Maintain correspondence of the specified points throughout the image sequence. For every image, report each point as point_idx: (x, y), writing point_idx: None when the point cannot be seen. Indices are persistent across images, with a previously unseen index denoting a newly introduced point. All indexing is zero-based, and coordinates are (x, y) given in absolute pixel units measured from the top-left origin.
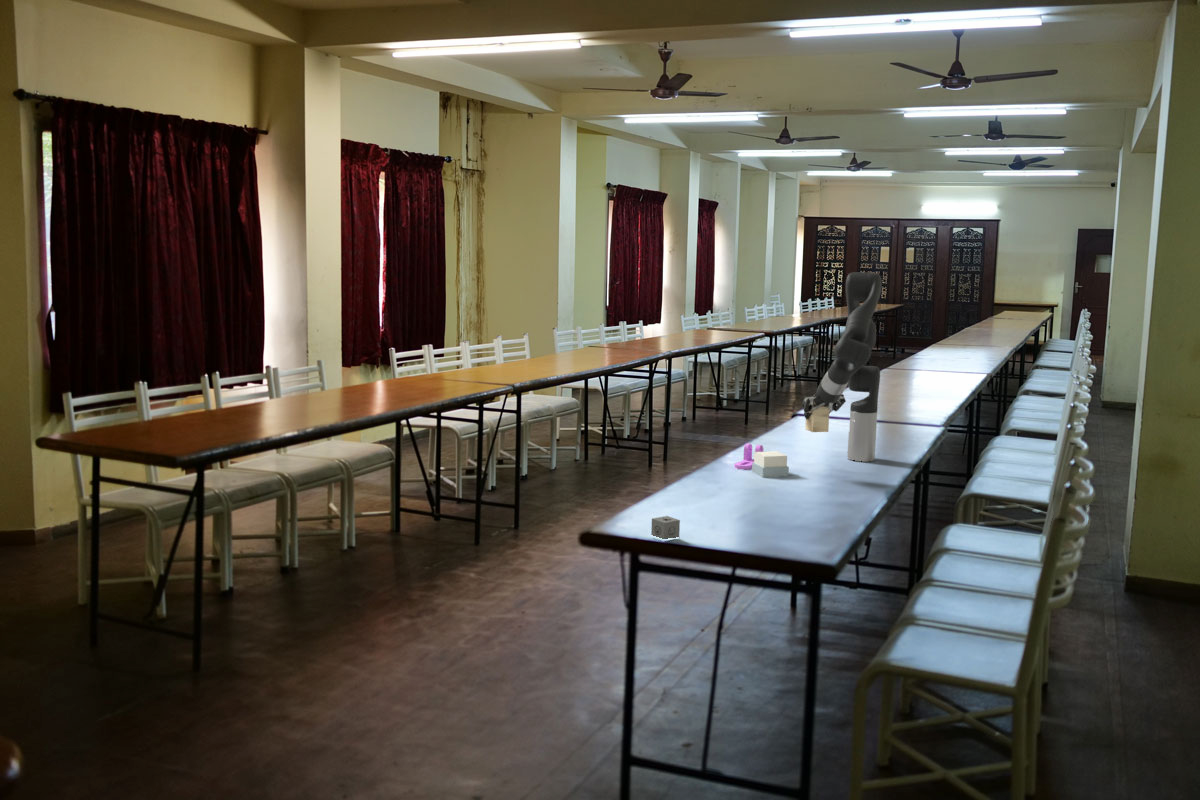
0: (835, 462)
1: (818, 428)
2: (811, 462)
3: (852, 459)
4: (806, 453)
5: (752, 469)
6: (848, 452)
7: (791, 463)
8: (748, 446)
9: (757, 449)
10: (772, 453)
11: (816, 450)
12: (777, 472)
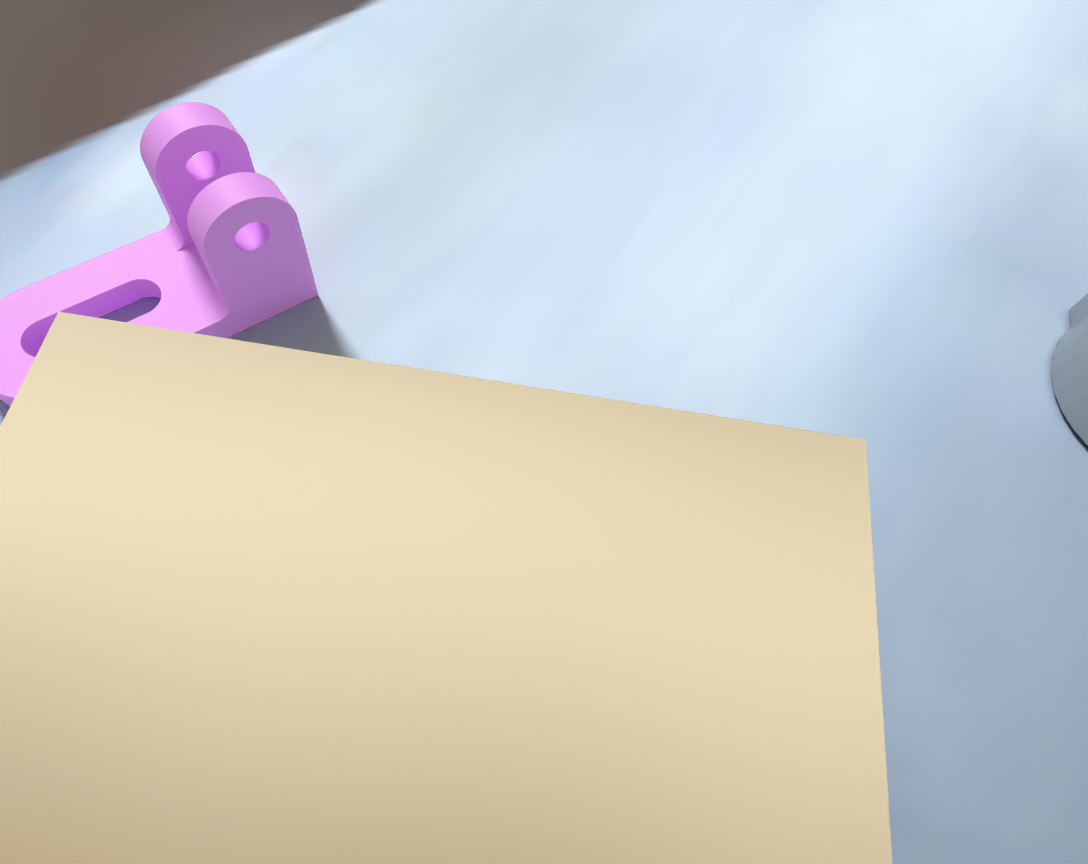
0: (907, 420)
1: None
2: (719, 363)
3: (1069, 413)
4: (827, 136)
5: None
6: (1085, 333)
7: (547, 344)
8: (162, 155)
9: (197, 233)
10: None
11: (933, 93)
12: None
